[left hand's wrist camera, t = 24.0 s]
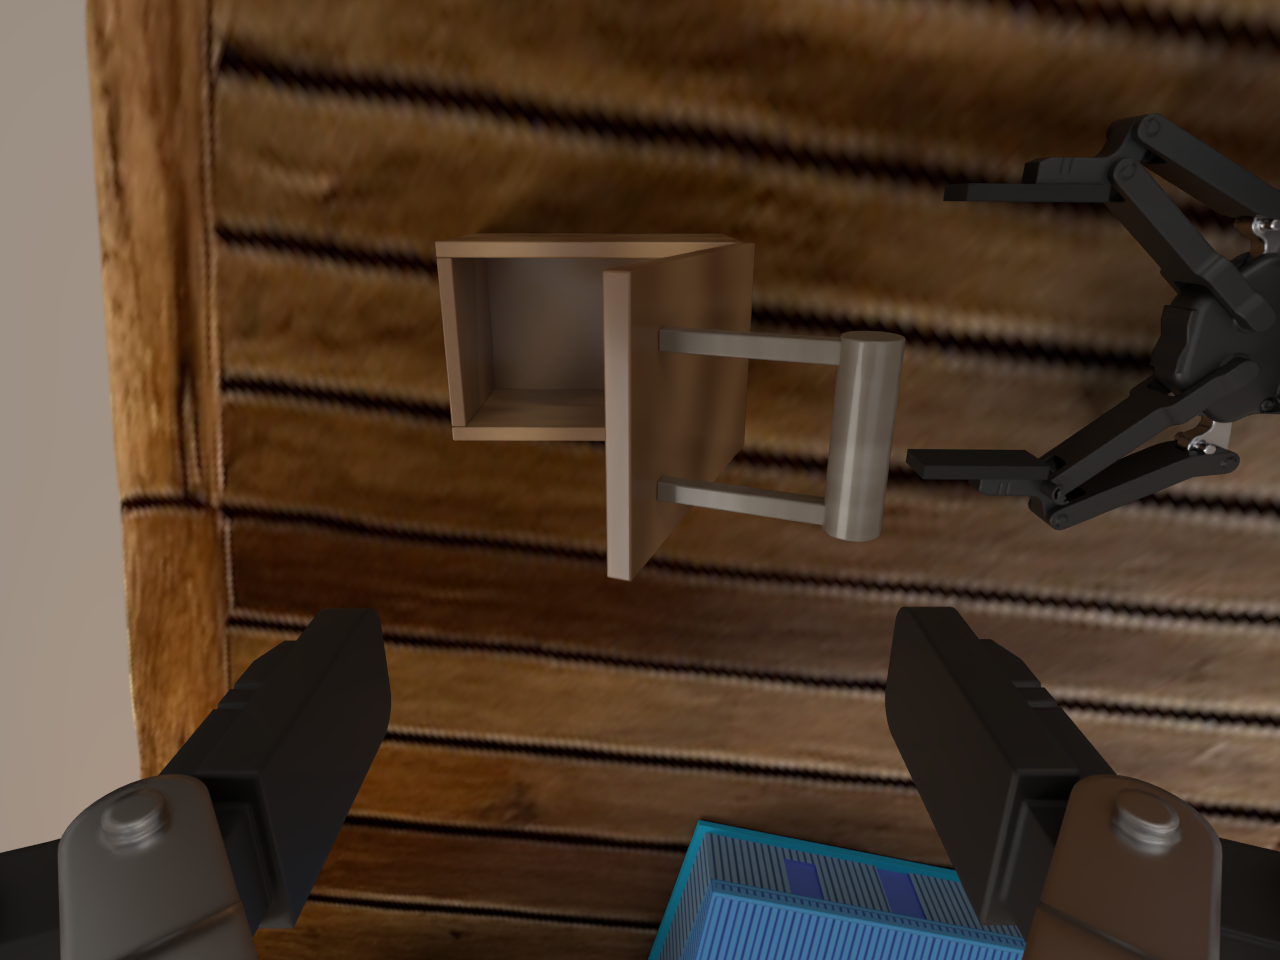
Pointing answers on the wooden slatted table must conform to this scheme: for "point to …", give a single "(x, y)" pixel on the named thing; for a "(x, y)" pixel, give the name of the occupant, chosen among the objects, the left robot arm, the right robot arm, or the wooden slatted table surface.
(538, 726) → the wooden slatted table surface
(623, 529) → the lid
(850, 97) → the wooden slatted table surface
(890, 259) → the wooden slatted table surface
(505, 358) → the chest
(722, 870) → the model building
